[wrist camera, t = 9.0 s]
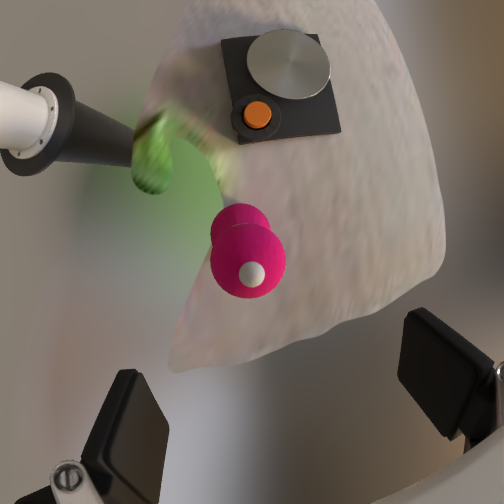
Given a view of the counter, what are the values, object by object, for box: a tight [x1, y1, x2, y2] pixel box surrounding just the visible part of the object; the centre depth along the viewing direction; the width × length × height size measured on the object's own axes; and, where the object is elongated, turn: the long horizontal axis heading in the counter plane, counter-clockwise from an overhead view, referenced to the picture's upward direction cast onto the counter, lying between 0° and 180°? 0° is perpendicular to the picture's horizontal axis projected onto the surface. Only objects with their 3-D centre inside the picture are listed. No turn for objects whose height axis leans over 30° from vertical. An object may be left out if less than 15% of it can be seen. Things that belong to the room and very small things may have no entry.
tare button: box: [243, 101, 271, 128], centre depth 31 cm, size 3×3×2 cm
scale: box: [221, 34, 341, 145], centre depth 32 cm, size 15×16×3 cm
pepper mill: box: [210, 204, 286, 298], centre depth 28 cm, size 7×7×20 cm
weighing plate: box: [247, 29, 331, 101], centre depth 29 cm, size 11×11×1 cm
